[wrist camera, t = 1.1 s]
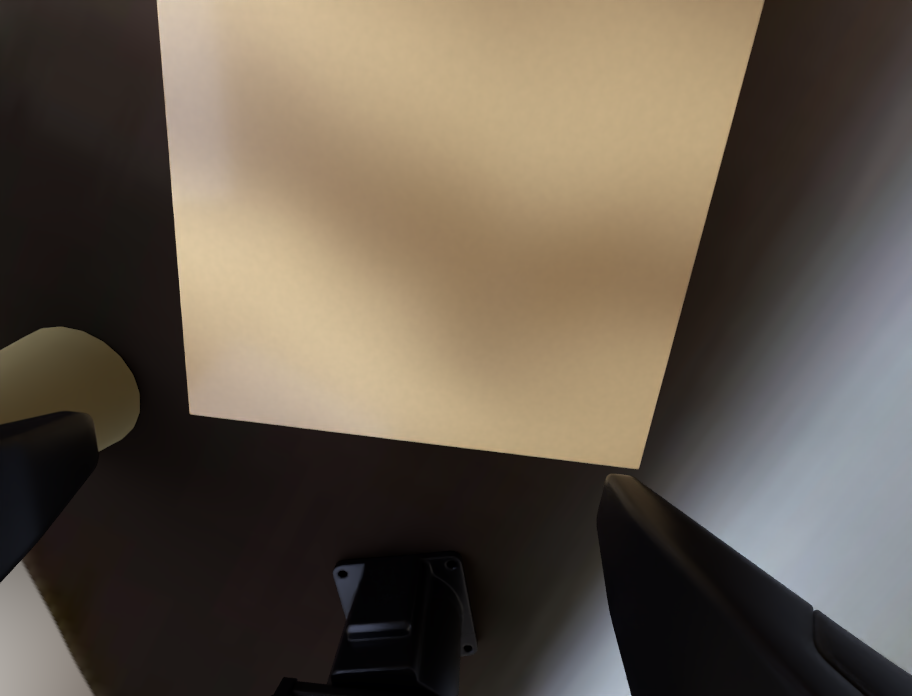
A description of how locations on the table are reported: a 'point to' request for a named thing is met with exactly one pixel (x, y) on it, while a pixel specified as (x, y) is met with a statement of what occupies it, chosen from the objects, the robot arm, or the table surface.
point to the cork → (68, 381)
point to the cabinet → (444, 210)
